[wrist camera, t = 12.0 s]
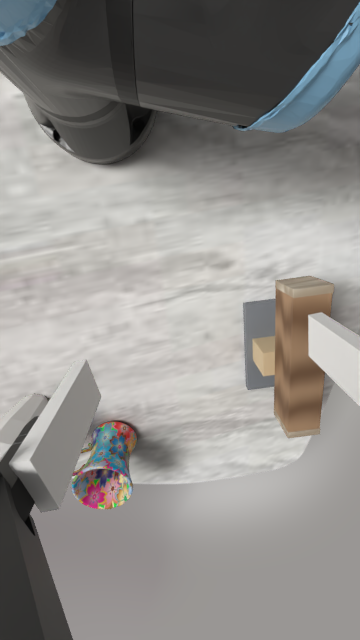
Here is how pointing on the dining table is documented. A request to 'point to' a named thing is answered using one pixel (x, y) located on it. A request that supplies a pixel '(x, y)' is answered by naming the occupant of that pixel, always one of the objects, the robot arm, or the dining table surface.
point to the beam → (298, 354)
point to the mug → (106, 467)
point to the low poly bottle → (19, 419)
